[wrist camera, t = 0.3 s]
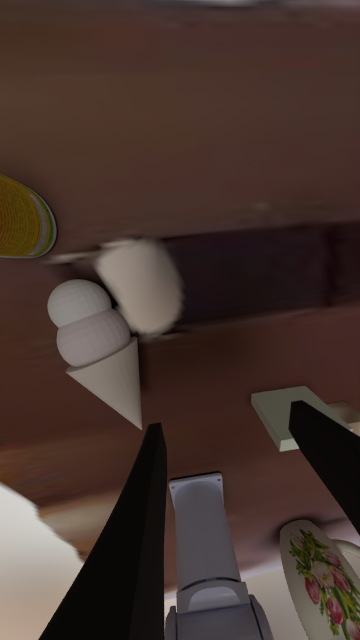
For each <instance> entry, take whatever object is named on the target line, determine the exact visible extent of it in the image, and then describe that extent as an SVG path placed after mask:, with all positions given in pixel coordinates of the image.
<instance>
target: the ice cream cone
mask: <svg viewBox="0 0 360 640" xmlns="http://www.w3.org/2000/svg"><path fill="white" fill-rule="evenodd" d="M48 313H49V315H50V318H51V319H52V321H53V322H54V324H56V325H57V326H58V327H59V330H58V332H57V346H58V349H59V352H60V354H61V355H62V357H63V358H64V359H65V360H66V361H67V362H68V363H69V364H70V365H71V366H69V367H68V368H67V369H66V373H68V374H69V375H70V376H72V377H73V378H74V379H76V380H77V381H78V382H79V383H81V384H82V385H83V386H85V387H86V388H87V389H89V390H90V391H91V392H92V393H94V394H95V395H96V396H98V397H99V398H100V399H102V400H103V401H104V402H106V403H107V404H108V405H109V406H111V407H112V408H113V409H115V410H116V411H117V412H119V413H120V414H121V415H123V416H124V417H125V418H126V419H128V420H129V421H130V422H132V423H133V424H134V425H136V426H137V427H138V428H139V429H141V430H142V418H141V400H140V382H139V364H138V346H137V337H130V329H129V326H128V324H127V322H126V320H125V319H124V317H123V316H122V315H121V314H120V313H118V312H117V311H116V310H114V309H112V307H111V301H110V298H109V296H108V295H107V293H106V292H105V291H104V289H103V288H101V287H100V286H99V285H97V284H95V283H93V282H90V281H87V280H81V279H77V280H69V281H66V282H64V283H62V284H60V285H59V286H58V287H56V288H55V289H54V290H53V292H52V293H51V295H50V297H49V300H48Z"/></svg>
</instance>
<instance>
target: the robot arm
mask: <svg viewBox="0 0 360 640" xmlns="http://www.w3.org/2000/svg"><path fill="white" fill-rule="evenodd" d="M288 430H289V431H290V433H291V435H292V437H293V438H294V440H295V442H296V444H297V445H298V447H299V449H300V450H301V452H302V453H303V455H304V456H305V458H306V459H307V460H308V462H309V463H310V465H311V466H312V467H313V469H314V470H315V472H316V473H317V474H318V476H319V477H320V479H321V480H322V481H323V483H324V484H325V485H326V487H327V488H328V490H329V491H330V492H331V494H332V495H333V497H334V498H335V499H336V501H337V502H338V504H339V505H340V506H341V508H342V509H343V511H344V512H345V514H346V515H347V517H348V518H349V520H350V521H351V523H352V524H353V526H354V527H355V529H356V531H357V532H358V534H359V535H360V436H358V435H356V434H355V433H353V432H352V431H350V430H348V429H347V428H345V427H344V426H342V425H341V424H339V423H337V422H336V421H334V420H333V419H331V418H330V417H328V416H326V415H325V414H323V413H322V412H320V411H319V410H317V409H316V408H314V407H313V406H311V405H309V404H308V403H306V402H305V401H303V400H299V401H292V402H291V408H290V417H289V427H288ZM169 487H170V492H171V496H172V501H173V505H174V509H175V521H176V552H177V583H178V592H177V613H176V606H171V607H170V612H169V613H168V615H167V617H166V622H165V630H164V529H165V510H166V490H167V449H166V444H165V440H164V435H163V431H162V426H161V423H155V424H149V425H148V427H147V431H146V434H145V437H144V440H143V442H142V445H141V448H140V450H139V453H138V456H137V458H136V460H135V463H134V465H133V468H132V470H131V473H130V475H129V477H128V479H127V481H126V484H125V486H124V488H123V490H122V492H121V495H120V497H119V499H118V501H117V503H116V505H115V507H114V509H113V511H112V513H111V515H110V517H109V519H108V521H107V523H106V525H105V527H104V529H103V530H102V532H101V534H100V536H99V538H98V540H97V542H96V543H95V545H94V547H93V549H92V551H91V552H90V554H89V556H88V558H87V560H86V561H85V563H84V565H83V567H82V568H81V570H80V572H79V574H78V575H77V577H76V579H75V581H74V582H73V584H72V586H71V587H70V589H69V590H68V592H67V594H66V596H65V597H64V599H63V600H62V602H61V604H60V605H59V607H58V609H57V610H56V612H55V613H54V615H53V617H52V618H51V620H50V622H49V623H48V625H47V627H46V628H45V630H44V631H43V633H42V635H41V636H40V638H39V639H38V640H274V639H273V635H272V632H271V629H270V626H269V623H268V620H267V618H266V615H265V613H264V610H263V608H262V606H261V605H260V604H259V603H258V601H257V600H256V598H255V596H254V595H252V594H250V595H249V594H248V590H247V586H246V583H245V582H241V577H240V573H239V569H238V564H237V560H236V556H235V552H234V547H233V543H232V539H231V534H230V530H229V526H228V521H227V517H226V513H225V508H224V499H223V482H222V474H221V473H214V474H208V475H202V476H196V477H190V478H183V479H177V480H172V481H170V482H169Z"/></svg>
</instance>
